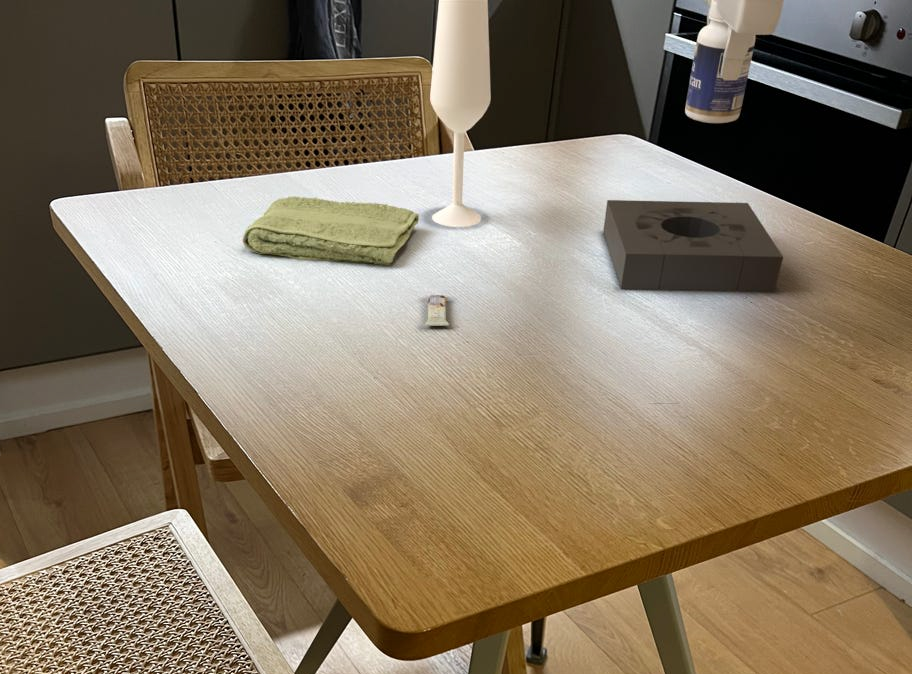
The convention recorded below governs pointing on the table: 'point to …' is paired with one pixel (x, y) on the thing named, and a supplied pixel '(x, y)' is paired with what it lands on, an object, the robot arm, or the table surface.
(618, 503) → the table surface
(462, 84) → the champagne flute
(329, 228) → the washcloth
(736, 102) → the pill bottle
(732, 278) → the block
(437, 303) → the granola bar
